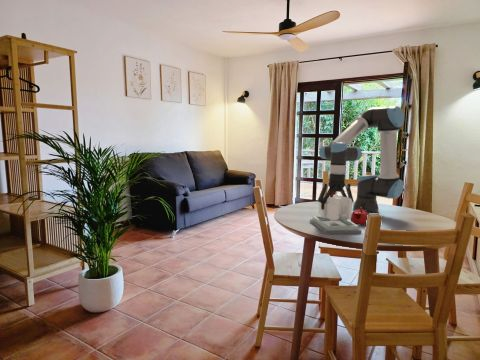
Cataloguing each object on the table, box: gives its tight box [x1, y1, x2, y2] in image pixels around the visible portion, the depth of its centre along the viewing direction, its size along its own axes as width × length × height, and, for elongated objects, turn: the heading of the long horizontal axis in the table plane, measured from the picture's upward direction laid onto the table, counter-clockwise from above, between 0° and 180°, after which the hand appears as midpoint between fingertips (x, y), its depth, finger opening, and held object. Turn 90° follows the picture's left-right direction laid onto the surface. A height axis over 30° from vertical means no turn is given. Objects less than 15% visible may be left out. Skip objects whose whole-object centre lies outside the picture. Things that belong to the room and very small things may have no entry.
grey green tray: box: [309, 215, 362, 235], centre depth 158 cm, size 18×22×4 cm
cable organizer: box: [318, 193, 353, 221], centre depth 157 cm, size 15×11×12 cm
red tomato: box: [350, 207, 369, 226], centre depth 166 cm, size 10×10×9 cm
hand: (334, 215), depth 158 cm, fingers closed on cable organizer, 11 cm apart
